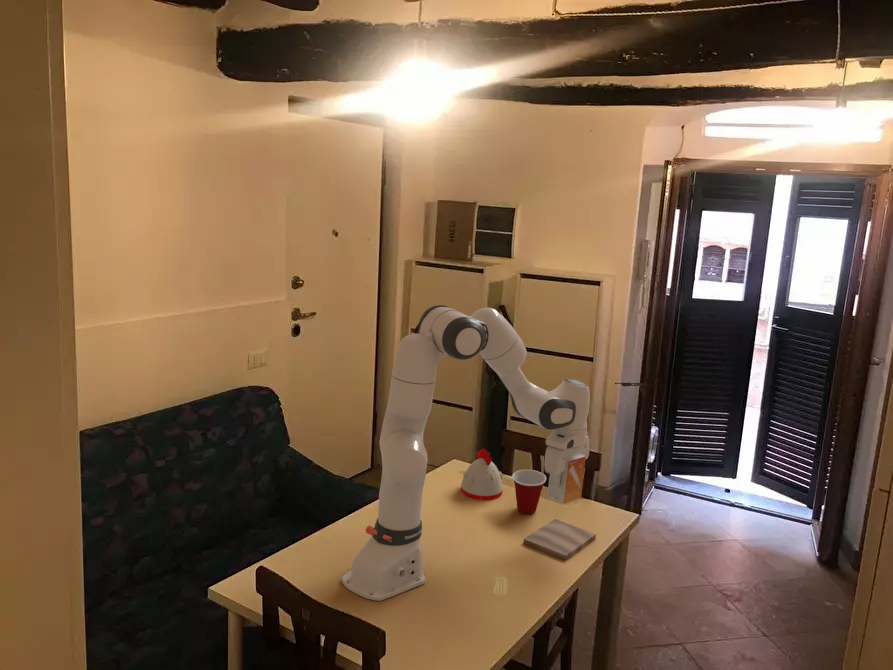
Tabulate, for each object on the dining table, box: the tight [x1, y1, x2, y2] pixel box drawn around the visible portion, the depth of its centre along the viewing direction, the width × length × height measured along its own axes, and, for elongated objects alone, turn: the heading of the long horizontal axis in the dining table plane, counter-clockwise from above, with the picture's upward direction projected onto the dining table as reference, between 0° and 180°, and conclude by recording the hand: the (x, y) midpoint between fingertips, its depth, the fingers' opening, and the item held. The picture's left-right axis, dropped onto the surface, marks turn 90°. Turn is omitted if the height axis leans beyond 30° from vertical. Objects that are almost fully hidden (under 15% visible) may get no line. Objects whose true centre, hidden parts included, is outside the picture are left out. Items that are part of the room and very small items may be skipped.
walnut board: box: [523, 518, 597, 561], centre depth 215 cm, size 18×14×2 cm
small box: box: [547, 454, 586, 505], centre depth 211 cm, size 8×6×13 cm
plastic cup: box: [511, 469, 547, 516], centre depth 232 cm, size 11×11×12 cm
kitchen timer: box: [460, 448, 503, 501], centre depth 245 cm, size 14×14×15 cm
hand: (565, 480), depth 211 cm, fingers closed on small box, 8 cm apart
